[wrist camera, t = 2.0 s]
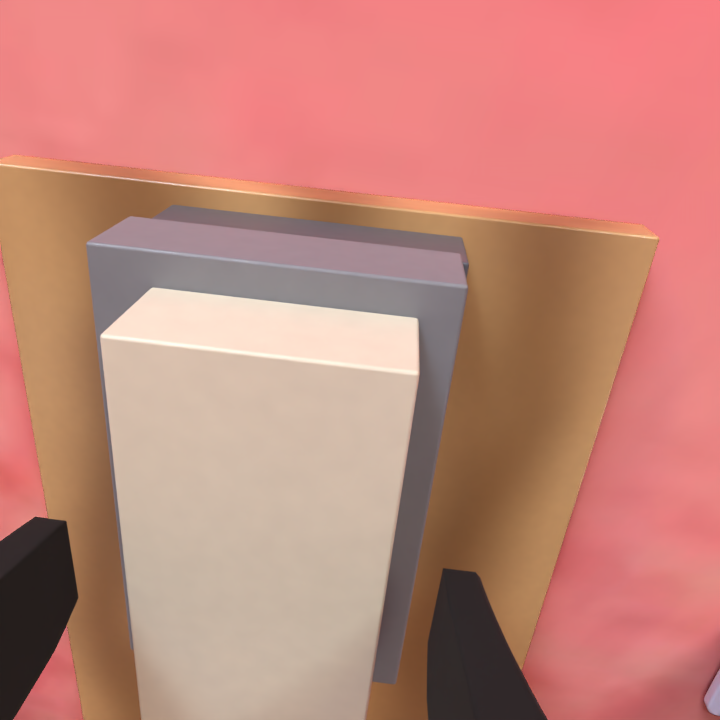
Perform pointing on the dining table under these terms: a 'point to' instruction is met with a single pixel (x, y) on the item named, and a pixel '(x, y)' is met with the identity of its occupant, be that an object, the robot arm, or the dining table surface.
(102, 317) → the grey stack
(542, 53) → the dining table surface
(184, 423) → the cream book
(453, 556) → the shelf board
